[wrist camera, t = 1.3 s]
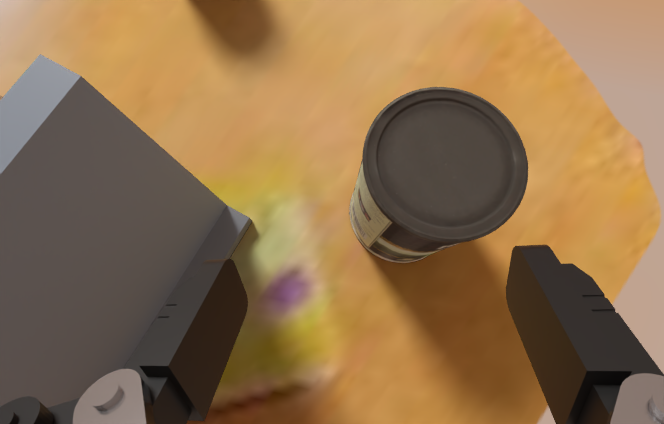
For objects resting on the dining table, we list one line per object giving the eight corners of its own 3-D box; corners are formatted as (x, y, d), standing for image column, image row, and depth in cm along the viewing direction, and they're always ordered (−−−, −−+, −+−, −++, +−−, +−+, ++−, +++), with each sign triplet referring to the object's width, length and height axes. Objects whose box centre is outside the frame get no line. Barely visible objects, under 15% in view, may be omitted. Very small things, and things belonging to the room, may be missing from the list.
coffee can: (471, 212, 35) (563, 160, 22) (402, 285, 34) (454, 279, 20) (397, 144, 37) (438, 56, 23) (327, 211, 35) (328, 158, 21)
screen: (68, 374, 31) (-491, 550, 10) (193, 188, 35) (-10, 27, 14) (132, 415, 31) (-320, 699, 9) (252, 221, 35) (133, 104, 13)
